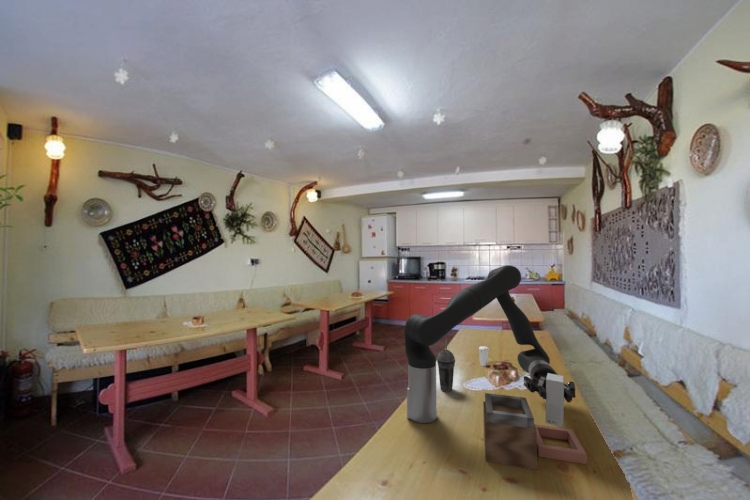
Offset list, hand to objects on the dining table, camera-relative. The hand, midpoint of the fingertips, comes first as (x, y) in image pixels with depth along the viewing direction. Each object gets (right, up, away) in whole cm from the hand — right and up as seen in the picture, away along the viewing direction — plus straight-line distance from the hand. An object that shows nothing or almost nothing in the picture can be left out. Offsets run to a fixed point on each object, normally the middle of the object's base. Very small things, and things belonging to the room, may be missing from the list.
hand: (556, 397), depth 84 cm
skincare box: (+1, -8, +2) cm, 8 cm away
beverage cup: (-21, -16, +40) cm, 48 cm away
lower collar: (+1, -15, +2) cm, 15 cm away
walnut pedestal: (-13, -15, 0) cm, 20 cm away
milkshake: (+5, -17, +68) cm, 70 cm away
